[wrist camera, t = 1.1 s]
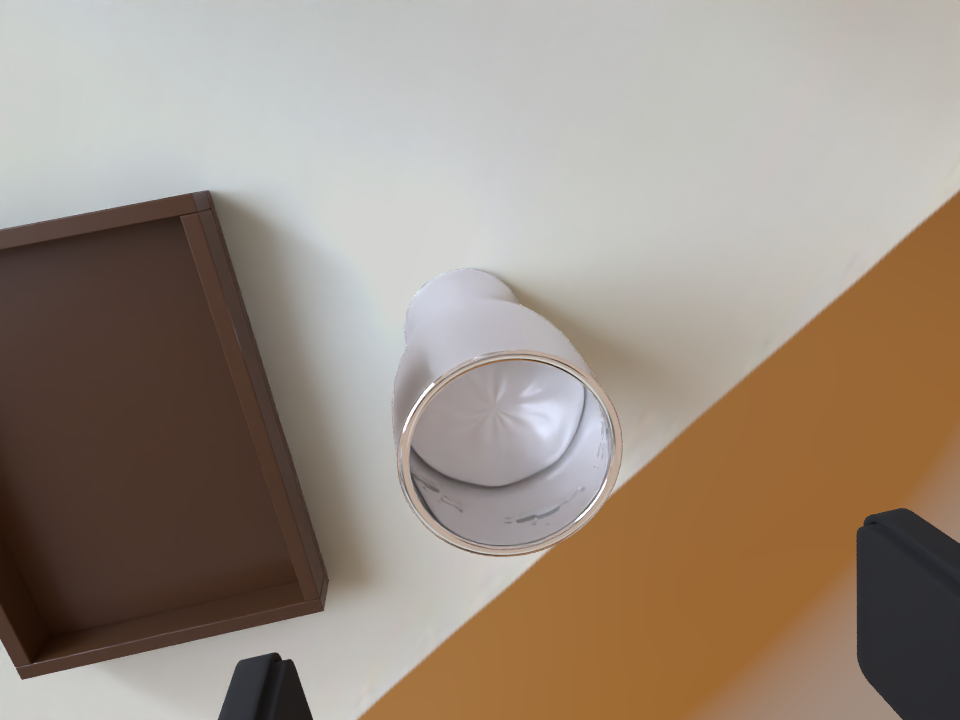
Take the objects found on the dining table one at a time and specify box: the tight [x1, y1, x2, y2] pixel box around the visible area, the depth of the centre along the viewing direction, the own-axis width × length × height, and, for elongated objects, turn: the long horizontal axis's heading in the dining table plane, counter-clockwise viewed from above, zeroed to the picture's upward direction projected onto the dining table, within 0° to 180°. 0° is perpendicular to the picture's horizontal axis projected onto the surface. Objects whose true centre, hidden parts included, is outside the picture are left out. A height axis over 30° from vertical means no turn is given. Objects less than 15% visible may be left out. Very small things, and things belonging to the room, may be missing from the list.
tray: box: [0, 190, 329, 680], centre depth 31 cm, size 22×16×3 cm
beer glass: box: [392, 269, 622, 557], centre depth 26 cm, size 7×7×15 cm
